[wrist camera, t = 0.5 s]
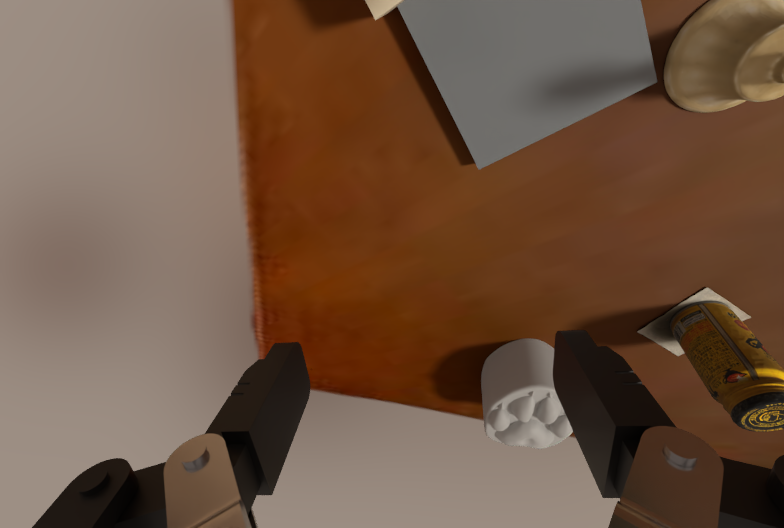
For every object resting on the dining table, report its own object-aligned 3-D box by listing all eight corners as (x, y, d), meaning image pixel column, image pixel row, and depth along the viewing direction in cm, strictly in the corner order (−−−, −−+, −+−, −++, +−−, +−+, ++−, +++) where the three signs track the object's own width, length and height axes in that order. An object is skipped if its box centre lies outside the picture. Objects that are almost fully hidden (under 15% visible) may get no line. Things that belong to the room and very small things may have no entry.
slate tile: (399, 4, 28) (397, 6, 26) (600, -146, 22) (609, -154, 21) (477, 163, 34) (478, 169, 33) (648, 77, 29) (657, 82, 27)
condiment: (750, 315, 41) (841, 417, 31) (677, 355, 46) (737, 453, 36) (706, 285, 39) (787, 383, 30) (635, 329, 44) (686, 425, 35)
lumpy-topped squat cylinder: (477, 394, 56) (481, 452, 49) (489, 335, 48) (495, 394, 41) (549, 401, 54) (563, 462, 48) (574, 341, 46) (595, 404, 40)
